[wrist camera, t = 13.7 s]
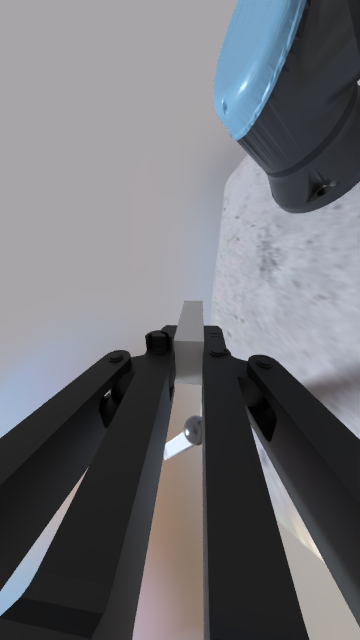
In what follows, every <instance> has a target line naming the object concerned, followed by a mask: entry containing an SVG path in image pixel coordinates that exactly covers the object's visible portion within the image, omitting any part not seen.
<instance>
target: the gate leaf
mask: <svg viewBox="0 0 360 640" xmlns="http://www.w3.org/2000/svg"><path fill="white" fill-rule="evenodd" d="M194 446H197V445H193V444H191V443H189V442H188V440H187V439H186V437H185V435H184V432H183V433H181V434H180V435H178V436H177V437H175V438H174V439H172V440H171V441H169V442H168V443H166V444H165V449H164V458H165V460H166V459H168V458H171V457H173V456H175V455H177V454H179V453H181V452H183V451H186V450H188V449H190V448H192V447H194Z"/></svg>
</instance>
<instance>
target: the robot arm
mask: <svg viewBox="0 0 360 640" xmlns="http://www.w3.org/2000/svg"><path fill="white" fill-rule="evenodd" d="M359 79H360V0H238V2H237V4H236V7H235V9H234V12H233V15H232V17H231V20H230V23H229V26H228V29H227V32H226V35H225V38H224V41H223V44H222V48H221V51H220V55H219V59H218V63H217V67H216V73H215V78H214V87H213V101H214V108H215V111H216V114H217V116H218V117H219V119H220V120H221V122H222V123H223V124H224V125H225V127H226V128H227V129H228V130H229V134H230V135H231V137H232V138H233V139H234V140H236V141H237V142H238V143H239V144H240V145H241V146H242V147H243V148H244V149H245V151H247V153H248V154H249V155H250V156H251V157H252V158H253V159H254V160H255V162H256V163H257V164H258V165H259V166H260V167H261V168H262V169H263V170H264V171H265V172H266V174H267V176H268V179H269V184H270V187H271V192H272V196H273V198H274V200H275V202H276V203H277V204H278V205H279V206H280V207H281V208H282V209H283V210H285V211H287V212H290V213H305V212H310V211H313V210H316V209H319V208H321V207H323V206H325V205H327V204H329V203H331V202H333V201H334V200H336V199H337V198H339V197H340V196H342V195H343V194H344V193H346V192H347V191H348V190H350V189H351V188H352V187H353V186H354V185H355V184H356V183H357V182H358V181H359V180H360V86H359V85H358V84H357V81H358V80H359ZM145 338H146V346H147V351H146V353H145V354H144V355H141V356H136V357H131V356H130V353H129V352H128V351H125V350H118V351H117V350H116V351H113V352H110V353H108V354H107V355H105V356H104V357H103V358H101V359H100V360H99V361H98V362H96V363H95V364H94V365H92V366H91V367H90V368H89V369H88V370H86V371H85V372H84V373H82V374H81V375H80V376H79V377H77V378H76V379H75V380H74V381H72V382H71V383H70V384H68V385H67V386H66V387H65V388H63V389H62V390H61V391H60V392H58V393H57V394H56V395H55V396H53V397H52V398H51V399H49V400H48V401H47V402H46V403H44V404H43V405H42V406H41V407H39V408H38V409H37V410H36V411H34V412H33V413H32V414H31V415H29V416H28V417H27V418H26V419H24V420H23V421H22V422H20V423H19V424H18V425H17V426H15V427H14V428H13V429H12V430H10V431H9V432H8V433H6V435H4V436H3V437H1V438H0V591H1V589H2V588H3V586H4V585H5V584H6V582H7V581H8V579H9V578H10V577H11V575H12V574H13V572H14V571H15V570H16V568H17V567H18V565H19V564H20V562H21V561H22V560H23V558H24V557H25V556H26V554H27V553H28V551H29V550H30V549H31V547H32V546H33V544H34V543H35V542H36V540H37V539H38V537H39V536H40V534H41V533H42V532H43V530H44V529H45V527H46V526H47V525H48V523H49V522H50V520H51V519H52V518H53V516H54V515H55V513H56V512H57V510H58V509H59V508H60V506H61V505H62V504H63V502H64V501H65V499H66V498H67V496H68V495H69V494H70V492H71V491H72V489H73V488H74V487H75V485H76V484H77V482H78V481H79V480H80V478H81V477H82V475H83V474H84V473H85V471H86V470H87V468H88V467H89V468H88V470H87V472H86V474H85V476H84V478H83V480H82V482H81V484H80V486H79V488H78V490H77V492H76V494H75V496H74V498H73V500H72V502H71V504H70V506H69V508H68V510H67V512H66V514H65V516H64V518H63V520H62V522H61V524H60V526H59V528H58V530H57V532H56V534H55V536H54V538H53V540H52V542H51V544H50V546H49V548H48V550H47V552H46V554H45V556H44V558H43V560H42V562H41V564H40V566H39V568H38V571H37V572H36V574H35V576H34V578H33V579H32V581H31V583H30V585H29V586H28V587H27V589H26V590H25V592H24V593H23V594H22V596H21V597H20V598H19V599H18V600H17V601H16V602H15V603H14V604H13V605H12V606H11V607H10V608H9V609H8V610H6V611H5V612H4V613H3V614H2V615H1V616H0V640H132V636H133V629H134V622H135V617H136V611H137V605H138V600H139V594H140V588H141V582H142V577H143V571H144V565H145V559H146V553H147V547H148V541H149V536H150V530H151V524H152V518H153V513H154V507H155V501H156V495H157V489H158V483H159V478H160V472H161V466H162V460H163V455H164V449H165V443H166V437H167V432H168V426H169V420H170V414H171V408H172V403H173V396H174V381H175V382H176V383H182V384H198V385H202V451H203V452H202V453H203V454H202V457H203V459H202V460H203V597H204V640H309V637H308V634H307V630H306V627H305V624H304V621H303V617H302V613H301V609H300V606H299V602H298V599H297V594H296V591H295V588H294V584H293V580H292V576H291V573H290V569H289V565H288V562H287V558H286V555H285V551H284V547H283V543H282V539H281V536H280V532H279V528H278V525H277V521H276V517H275V514H274V510H273V506H272V503H271V499H270V495H269V492H268V488H267V484H266V481H265V477H264V473H263V470H262V466H261V462H260V459H259V455H258V451H257V448H256V444H255V440H254V437H253V433H252V429H251V426H250V423H251V425H252V427H253V429H254V430H255V432H256V434H257V436H258V438H259V440H260V442H261V444H262V445H263V447H264V449H265V451H266V453H267V455H268V457H269V459H270V460H271V462H272V464H273V466H274V468H275V470H276V472H277V473H278V475H279V477H280V479H281V481H282V483H283V485H284V487H285V488H286V490H287V492H288V494H289V496H290V498H291V500H292V502H293V503H294V505H295V507H296V509H297V511H298V513H299V515H300V516H301V518H302V520H303V522H304V524H305V526H306V528H307V530H308V531H309V533H310V535H311V537H312V539H313V541H314V543H315V545H316V546H317V548H318V550H319V552H320V554H321V556H322V558H323V559H324V561H325V563H326V565H327V567H328V569H329V571H330V572H331V574H332V576H333V578H334V580H335V582H336V584H337V586H338V588H339V589H340V591H341V593H342V595H343V597H344V599H345V601H346V602H347V604H348V606H349V608H350V610H351V612H352V614H353V616H354V617H355V619H356V621H357V623H358V625H359V627H360V439H359V438H357V437H356V436H355V435H354V434H353V433H352V432H351V431H350V430H349V429H348V428H347V427H346V426H345V425H344V424H343V423H342V422H341V421H340V420H339V419H338V418H336V417H335V416H334V415H333V414H332V413H331V412H330V411H329V410H328V409H327V408H326V407H325V406H324V405H323V404H322V403H321V402H320V401H319V400H318V399H317V398H315V397H314V396H313V395H312V394H311V393H310V392H309V391H308V390H307V389H306V388H305V387H304V386H303V385H302V384H301V383H300V382H299V381H298V380H297V379H296V378H294V377H293V376H292V375H291V374H290V373H289V372H288V371H287V370H286V369H285V368H284V367H283V366H282V365H281V364H280V363H279V362H278V361H276V360H275V359H273V358H271V357H269V356H265V355H253V356H251V357H249V359H248V361H245V360H240V359H237V358H235V357H233V356H231V353H230V351H229V350H228V349H226V345H225V341H224V338H223V333H222V329H221V328H220V327H218V326H203V302H202V301H184V305H183V308H182V312H181V316H180V319H179V323H178V326H176V325H174V326H172V325H166V326H165V327H163V328H162V330H158V331H157V330H156V331H152V332H150V333H148V334H147V335H146V336H145ZM108 391H109V393H108V395H106V396H104V395H105V394H106V393H107V392H108ZM249 421H250V422H249Z"/></svg>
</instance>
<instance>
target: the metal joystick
mask: <svg viewBox="0 0 360 640" xmlns="http://www.w3.org/2000/svg"><path fill="white" fill-rule="evenodd" d="M184 435H185V437H186V439H187V440H188V442H189V443H191V444H193V445H202V417H200V416H191V417H190V418H188V419H187V421H186V422H185V425H184Z"/></svg>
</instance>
